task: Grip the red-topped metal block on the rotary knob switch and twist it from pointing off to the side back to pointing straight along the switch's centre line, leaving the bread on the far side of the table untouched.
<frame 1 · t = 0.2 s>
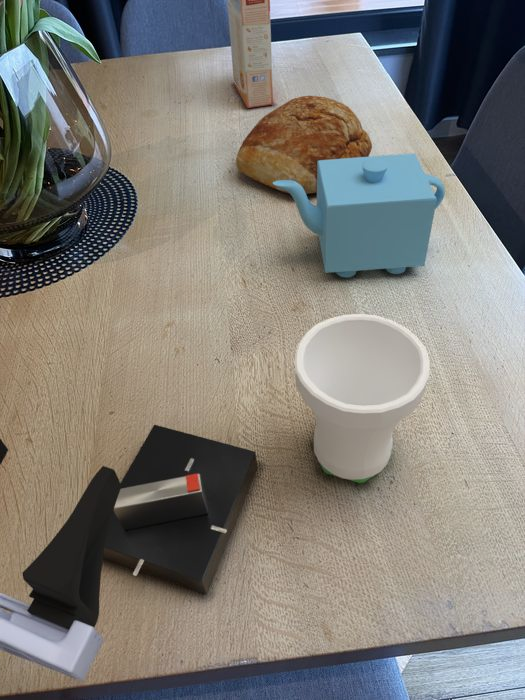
hand: (53, 457, 32), 22 cm above the table, tool horizontal, fingers open, 7 cm apart
teapot: (354, 256, 79), on the table
cracker box: (253, 95, 119), on the table
bread: (296, 170, 96), on the table
cup: (351, 453, 57), on the table
red-topped metal block: (161, 501, 48), point 5 cm above the table, hinge at -60.0°
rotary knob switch: (180, 509, 53), on the table
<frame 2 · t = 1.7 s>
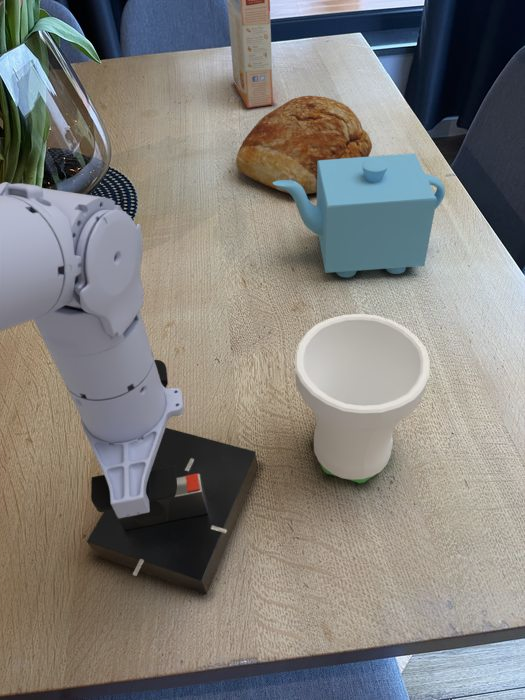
hand: (151, 476, 45), 9 cm above the table, tool pointing down, fingers open, 7 cm apart
nothing on the table moved.
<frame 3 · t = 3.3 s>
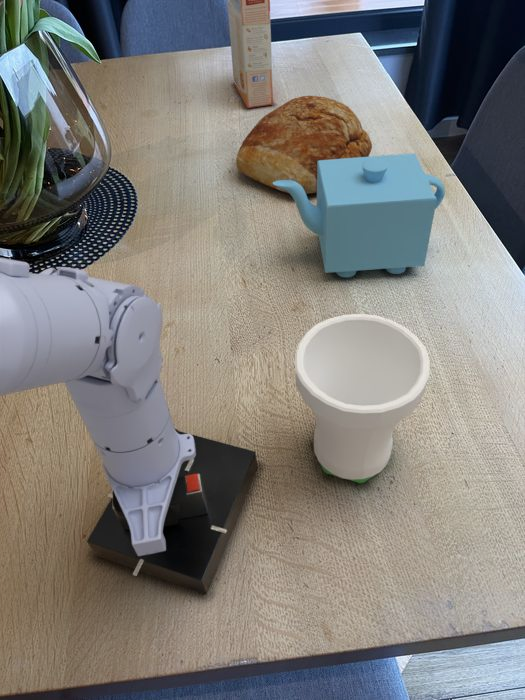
hand: (164, 510, 49), 4 cm above the table, tool pointing down, fingers closed on red-topped metal block, 2 cm apart
red-topped metal block: (161, 501, 48), point 5 cm above the table, hinge at -60.0°, touching gripper
everything else where it was.
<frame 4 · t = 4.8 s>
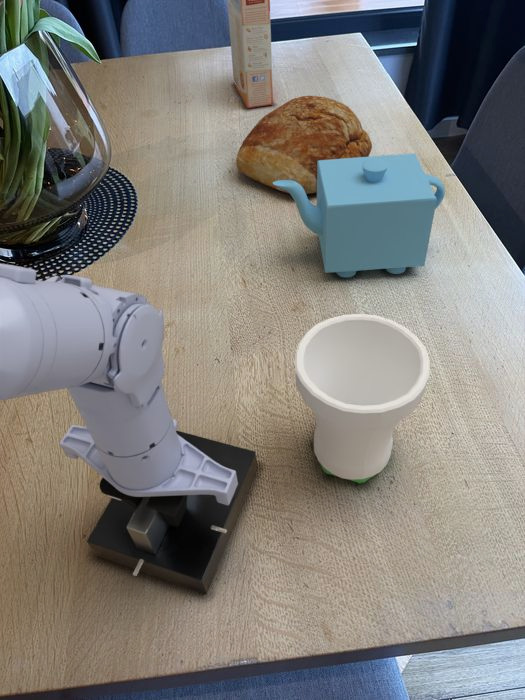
hand: (166, 512, 50), 3 cm above the table, tool pointing down, fingers closed on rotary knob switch, 2 cm apart
red-topped metal block: (161, 501, 48), point 5 cm above the table, hinge at -0.3°
everything else where it was.
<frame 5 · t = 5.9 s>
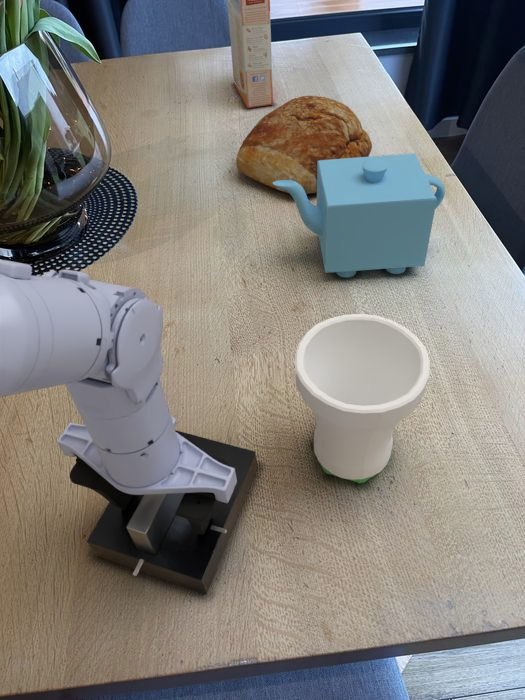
hand: (164, 511, 50), 3 cm above the table, tool pointing down, fingers open, 7 cm apart
nothing on the table moved.
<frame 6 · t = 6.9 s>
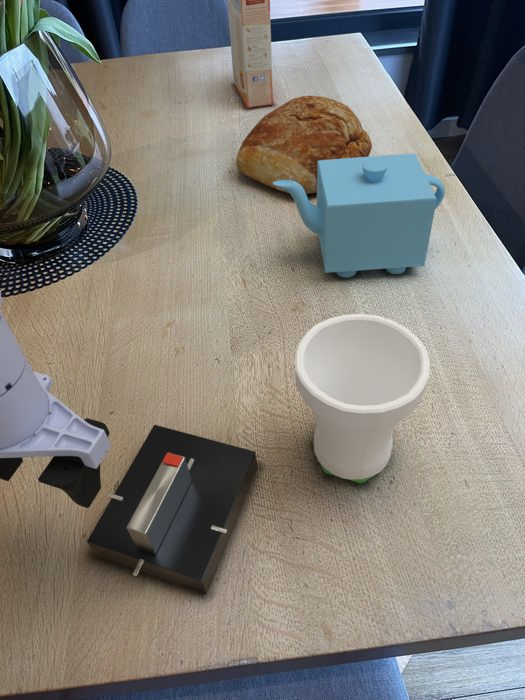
hand: (51, 483, 45), 9 cm above the table, tool pointing down, fingers open, 7 cm apart
nothing on the table moved.
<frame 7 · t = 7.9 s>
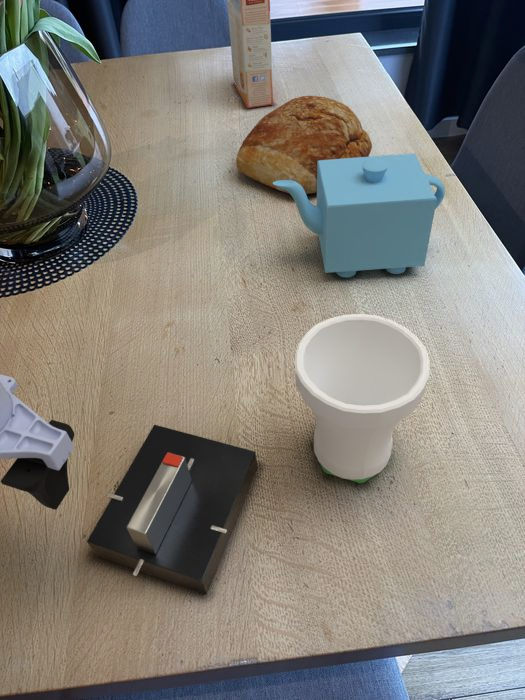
hand: (19, 485, 45), 9 cm above the table, tool pointing down, fingers open, 7 cm apart
nothing on the table moved.
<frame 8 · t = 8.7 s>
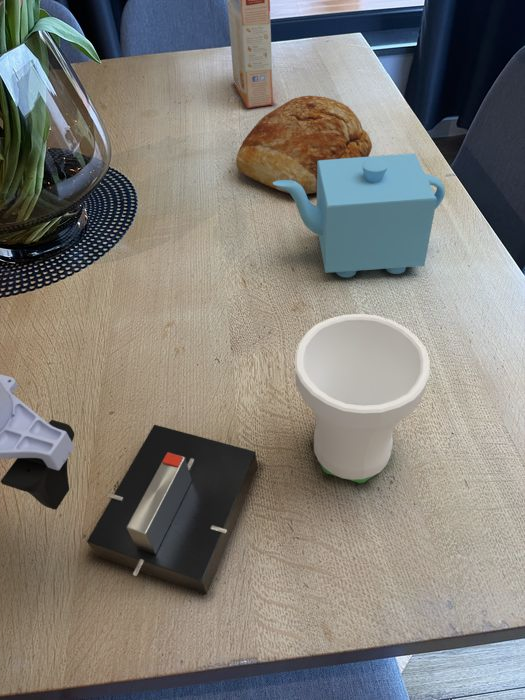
hand: (19, 485, 45), 9 cm above the table, tool pointing down, fingers open, 7 cm apart
nothing on the table moved.
at the end: red-topped metal block at +0° (first picture: -60°); bread moved 0.2 cm from its start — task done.
